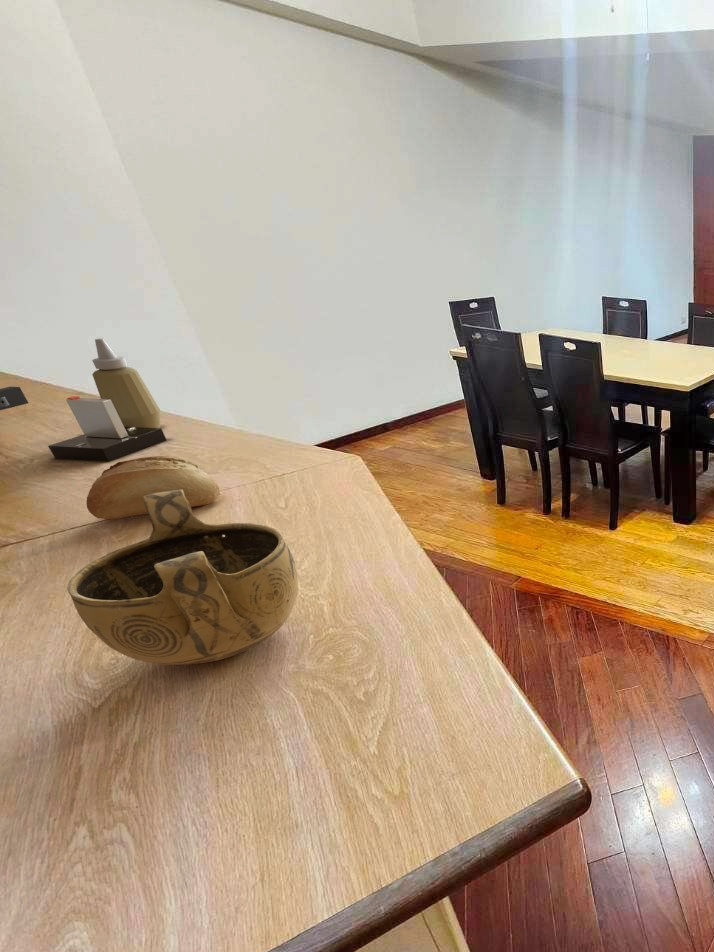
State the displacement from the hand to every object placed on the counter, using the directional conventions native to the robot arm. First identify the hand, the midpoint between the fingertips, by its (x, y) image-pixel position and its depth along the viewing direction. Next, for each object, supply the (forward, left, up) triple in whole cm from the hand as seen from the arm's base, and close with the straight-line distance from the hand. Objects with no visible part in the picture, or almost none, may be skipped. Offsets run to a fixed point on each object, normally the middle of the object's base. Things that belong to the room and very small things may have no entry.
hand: (19, 394), depth 97 cm
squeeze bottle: (+6, +21, -13) cm, 25 cm away
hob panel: (+5, +9, -13) cm, 16 cm away
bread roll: (+21, -26, -13) cm, 36 cm away
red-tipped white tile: (+5, +9, -10) cm, 14 cm away
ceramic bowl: (+37, -69, -13) cm, 80 cm away
